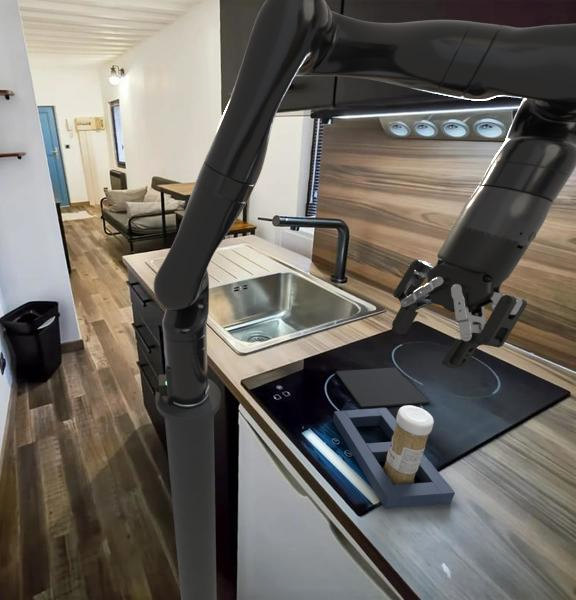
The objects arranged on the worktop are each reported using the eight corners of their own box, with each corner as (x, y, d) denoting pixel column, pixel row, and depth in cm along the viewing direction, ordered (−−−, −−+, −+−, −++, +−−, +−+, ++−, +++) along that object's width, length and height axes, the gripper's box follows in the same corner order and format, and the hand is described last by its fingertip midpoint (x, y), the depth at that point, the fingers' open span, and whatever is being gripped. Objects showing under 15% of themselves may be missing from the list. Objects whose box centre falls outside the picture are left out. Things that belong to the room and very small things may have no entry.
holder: (384, 508, 55) (387, 497, 54) (332, 420, 72) (334, 411, 71) (450, 503, 55) (455, 492, 54) (383, 417, 72) (386, 407, 71)
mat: (361, 408, 74) (361, 406, 74) (335, 373, 85) (335, 371, 85) (428, 403, 75) (429, 401, 74) (394, 369, 85) (395, 367, 85)
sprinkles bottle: (379, 463, 62) (395, 402, 57) (409, 468, 61) (429, 406, 55) (385, 486, 58) (402, 422, 53) (417, 492, 57) (439, 428, 51)
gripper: (419, 213, 48) (364, 319, 54) (536, 241, 36) (448, 376, 41) (459, 226, 51) (402, 327, 56) (582, 257, 38) (492, 383, 44)
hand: (421, 348), depth 49 cm, fingers open, 8 cm apart
